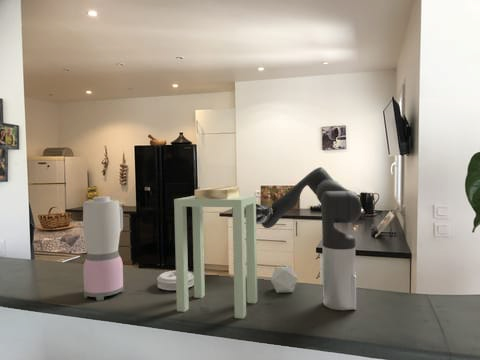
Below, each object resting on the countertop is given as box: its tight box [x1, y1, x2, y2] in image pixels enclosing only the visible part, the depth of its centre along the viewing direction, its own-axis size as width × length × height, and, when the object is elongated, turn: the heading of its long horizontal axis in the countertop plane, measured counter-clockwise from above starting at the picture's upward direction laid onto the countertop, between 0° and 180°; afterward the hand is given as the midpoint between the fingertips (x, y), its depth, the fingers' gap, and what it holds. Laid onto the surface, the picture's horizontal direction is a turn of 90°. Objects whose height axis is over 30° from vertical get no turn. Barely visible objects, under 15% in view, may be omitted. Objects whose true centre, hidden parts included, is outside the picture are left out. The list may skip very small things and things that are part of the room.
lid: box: [156, 270, 194, 291], centre depth 127 cm, size 13×13×5 cm
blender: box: [82, 196, 124, 301], centre depth 122 cm, size 16×12×32 cm
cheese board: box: [194, 185, 240, 199], centre depth 113 cm, size 10×20×2 cm, turn 162°
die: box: [270, 266, 298, 294], centre depth 120 cm, size 8×9×10 cm
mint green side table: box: [173, 195, 258, 319], centre depth 108 cm, size 20×14×32 cm
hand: (245, 210), depth 135 cm, fingers open, 8 cm apart
